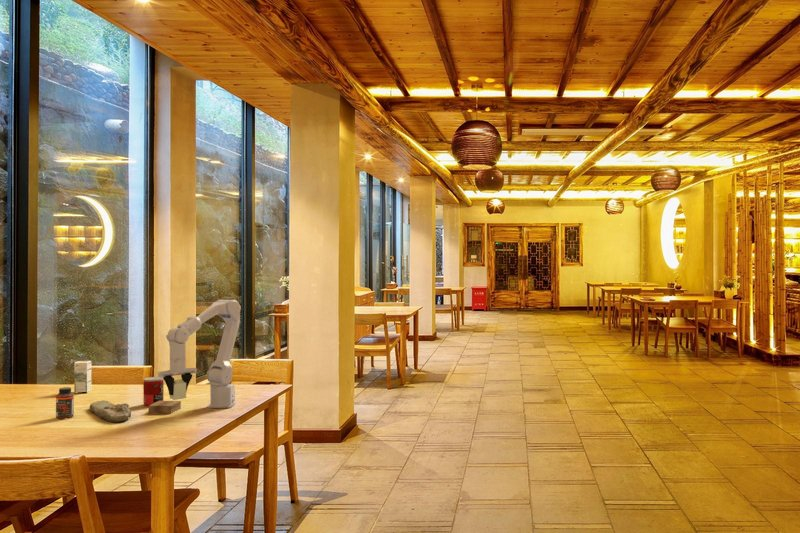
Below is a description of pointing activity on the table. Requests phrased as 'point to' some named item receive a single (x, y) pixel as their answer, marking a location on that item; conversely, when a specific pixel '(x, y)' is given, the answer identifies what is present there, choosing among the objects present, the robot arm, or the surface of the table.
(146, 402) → the canned food
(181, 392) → the cream cube with panel
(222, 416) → the table surface
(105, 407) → the long grey stone
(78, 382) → the syrup box
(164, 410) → the walnut box
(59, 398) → the supplement bottle
